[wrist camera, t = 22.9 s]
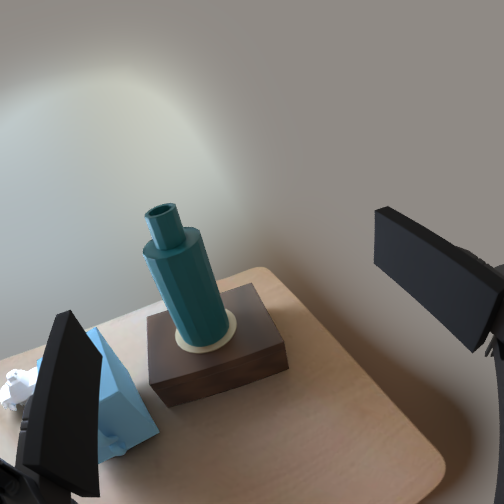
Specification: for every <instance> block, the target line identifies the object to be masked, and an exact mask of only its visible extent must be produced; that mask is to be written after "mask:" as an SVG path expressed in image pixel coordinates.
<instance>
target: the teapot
mask: <svg viewBox="0 0 504 504" xmlns="http://www.w3.org/2000/svg"><path fill="white" fill-rule="evenodd" d="M86 334H87V335H88V336H89V338H90V339H91V341H92V342H93V343H94V345H95V346H96V348H97V349H98V350H99V352H100V353H101V354H102V356H103V359H102V369H101V380H100V393H99V412H98V464H100V463H102V462H104V461H106V460H108V459H110V458H112V457H114V456H122V455H124V454H125V453H126V452H127V450H128V449H130V448H132V447H134V446H136V445H138V444H139V443H141V442H143V441H145V440H147V439H149V438H150V437H152V436H154V435H156V434H158V433H159V430H158V428H157V426H156V425H155V423H154V421H153V419H152V417H151V416H150V414H149V412H148V410H147V408H146V406H145V404H144V402H143V401H142V399H141V397H140V395H139V393H138V391H137V389H136V387H135V385H134V383H133V381H132V379H131V376H130V374H129V372H128V370H127V369H126V368H125V367H124V365H123V364H122V363H121V361H120V360H119V359H118V357H117V356H116V354H115V353H114V352H113V350H112V349H111V348H110V346H109V345H108V343H107V342H106V340H105V339H104V338H103V336H102V335H101V333H100V332H99V330H98V329H97V327H95V328H93V329H91V330H89V331H88V332H86ZM42 358H43V357H42ZM42 358H40V359H39V360H37V374H38V373H39V369H40V365H41V361H42Z"/></svg>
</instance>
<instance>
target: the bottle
mask: <svg viewBox="0 0 504 504" xmlns="http://www.w3.org/2000/svg"><path fill="white" fill-rule="evenodd" d="M145 219H146V222H147V225H148V227H149V230H150V233H151V235H152V238H153V239H152V240H150V241H149V242H148V243H147V244H146V246H145V247H144V248H143V256H144V258H145V261H146V263H147V265H148V267H149V270H150V272H151V274H152V277H153V278H154V281H155V283H156V286H157V288H158V290H159V292H160V294H161V296H162V299H163V301H164V303H165V305H166V307H167V309H168V311H169V313H170V315H171V317H172V319H173V321H174V323H175V325H176V327H177V329H178V331H179V333H180V335H181V337H182V338H183V340H184V341H185V342H186V343H187V344H189V345H191V346H195V347H204V346H209V345H212V344H214V343H216V342H218V341H219V340H220V339H222V338H223V337H224V336H225V334H226V333H227V331H228V329H229V319H228V317H227V314H226V311H225V308H224V305H223V302H222V299H221V296H220V293H219V290H218V287H217V284H216V281H215V278H214V275H213V272H212V269H211V266H210V263H209V259H208V256H207V253H206V250H205V247H204V243H203V240H202V237H201V234H200V231H199V230H198V229H196V228H194V227H183V226H182V224H181V220H180V217H179V214H178V211H177V208H176V205H175V204H173V203H167V204H162V205H159V206H156V207H154V208H153V209H151V210H149V211H148V212H147V213H146V214H145Z"/></svg>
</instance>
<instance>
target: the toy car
mask: <svg viewBox="0 0 504 504" xmlns="http://www.w3.org/2000/svg"><path fill="white" fill-rule="evenodd" d="M37 376H38V374H37V367H35V368H33V369H32V370H30V371H28V372H27V371H23V370H19V371H18V370H16V369H14V370H13V371H11V372H9V373H8V374H7V377H6V378H7V379H8V383H6V385H4V386H3V387H2V389H1V403H2V406H4V408H5V409H7V408H9V409H10V410H12V411H13V410H14V411H16V410H17V409H16V406H15V405H16V404H18V403H19V404H20V403H22V402H24V401H26V400H27V398H29V397H30V395H33V393H34V389H35V384H36V380H37ZM27 401H28V400H27ZM25 403H27V402H25ZM25 403H24V404H25ZM24 404H22V405H24ZM20 405H21V404H20ZM22 405H21V406H22ZM23 407H25V406H23Z"/></svg>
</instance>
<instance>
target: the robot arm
mask: <svg viewBox="0 0 504 504" xmlns="http://www.w3.org/2000/svg"><path fill="white" fill-rule="evenodd" d="M374 243H375V244H374V264H375V265H376V266H378V267H379V268H380V269H381V270H382V271H383V272H385V273H386V274H387V275H388V276H389V277H391V278H392V279H393V280H394V281H396V283H398V284H399V285H400V286H401V287H402V288H403V289H404V290H406V291H407V292H408V293H409V294H410V295H411V296H412V297H413V298H415V299H416V300H417V301H418V302H419V303H420V304H421V305H422V306H424V308H426V309H427V310H428V311H429V312H430V313H431V314H432V315H433V316H434V317H435V318H437V319H438V320H439V321H440V322H441V323H442V324H443V325H444V326H445V327H446V328H447V329H448V330H449V331H450V332H451V333H452V334H453V335H454V336H455V337H456V338H457V339H458V340H459V341H461V342H462V343H463V344H464V345H465V346H466V347H467V348H468V349H469V350H470V351H471V352H472V353H473V352H474V351H476V350H477V349H478V348H479V347H480V346H481V345H483V344H484V342H485V340H486V338H487V336H488V334H489V332H491V333H492V334H494V336H493V338H492V340H491V342H490V344H489V346H488V348H487V350H486V351H485V357H487V356H488V354H489V352H490V351H491V349H492V347H493V351H492V353H491V357H492V356H494V360H495V367H496V376H497V385H498V398H499V419H500V444H499V464H498V476H497V485H496V492H495V499H494V504H504V275H503V274H502V273H500V272H499V271H497V270H496V269H495V268H493V267H492V266H490V265H489V264H486V263H485V261H483V260H482V259H480V258H479V259H478V257H477V256H476V255H474V254H473V253H471V252H470V251H468V250H465V249H463V248H460V247H457V246H454V245H453V244H451V243H449V242H448V241H446V240H445V239H443V238H442V237H440V236H438V235H437V234H435V233H434V232H432V231H430V230H429V229H427V228H425V227H424V226H422V225H420V224H419V223H417V222H415V221H413V220H412V219H410V218H408V217H406V216H405V215H403V214H401V213H399V212H397V211H396V210H394V209H392V208H390V207H388V206H387V207H383V208H380V209H377V210H375V242H374ZM102 359H103V356H102V354H101V353H100V352H99V350H98V349H97V348H96V346H95V345H94V343H93V342H92V341H91V339H90V338H89V336H88V335H87V334H86V332H85V331H84V329H83V328H82V326H81V325H80V323H79V322H78V320H77V319H76V318H75V316H74V314H73V313H72V311H71V310H69V311H66V312H63V313H60V314H57V315H56V317H55V320H54V323H53V326H52V330H51V332H50V335H49V339H48V341H47V345H46V348H45V351H44V354H43V358H42V361H41V365H40V369H39V373H38V376H37V380H36V384H35V389H34V393H33V395H30V397H29V399H28V401H27V403H26V405H25V407H24V411H23V416H22V420H23V421H22V422H21V427H20V429H21V431H20V433H19V440H18V447H17V454H16V464H15V467H13V466H11V465H10V464H8V463H7V462H5V461H4V460H2V459H1V458H0V504H78V503H77V502H76V501H75V500H74V499H72V498H71V492H72V493H74V494H77V495H79V496H81V497H100V490H99V473H98V412H99V393H100V380H101V369H102Z"/></svg>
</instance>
